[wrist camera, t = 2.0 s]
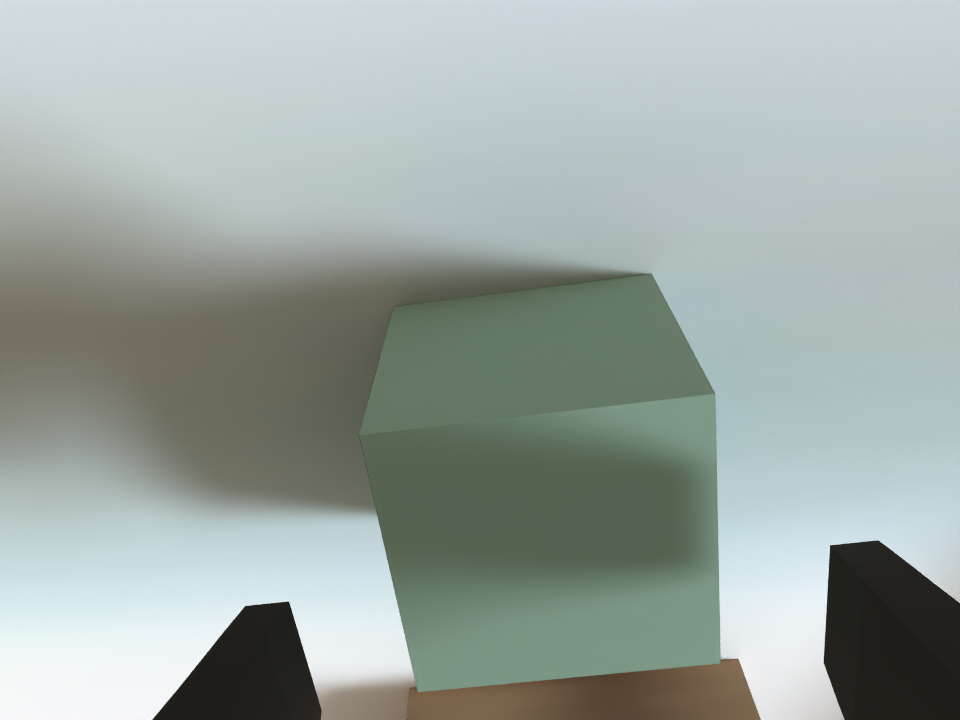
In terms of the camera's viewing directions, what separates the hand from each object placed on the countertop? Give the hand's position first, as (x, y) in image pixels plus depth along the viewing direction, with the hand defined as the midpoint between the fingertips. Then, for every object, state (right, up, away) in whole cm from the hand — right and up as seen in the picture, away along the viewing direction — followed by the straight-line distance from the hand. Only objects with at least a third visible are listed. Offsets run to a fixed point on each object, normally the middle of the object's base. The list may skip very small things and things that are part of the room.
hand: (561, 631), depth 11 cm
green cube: (0, +3, +6) cm, 7 cm away
